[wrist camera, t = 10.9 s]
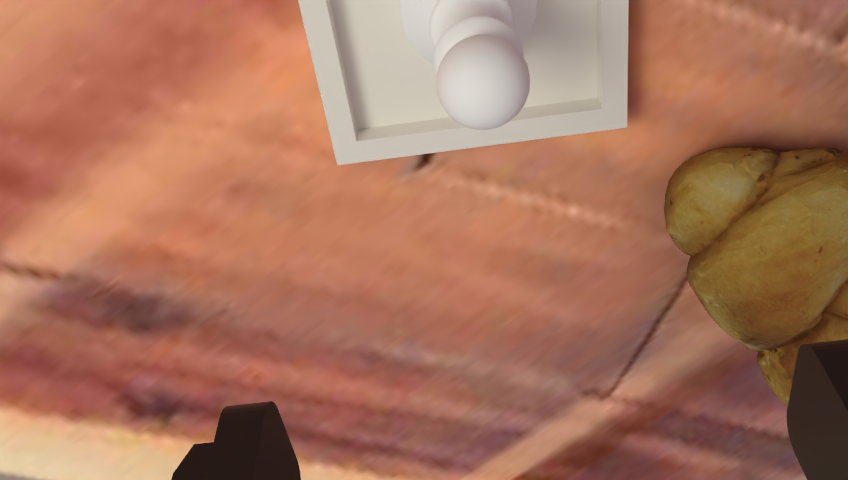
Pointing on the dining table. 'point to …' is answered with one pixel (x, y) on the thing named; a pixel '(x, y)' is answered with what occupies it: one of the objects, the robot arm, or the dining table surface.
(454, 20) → the chess pawn
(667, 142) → the dining table surface
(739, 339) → the bread roll
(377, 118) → the square tray
